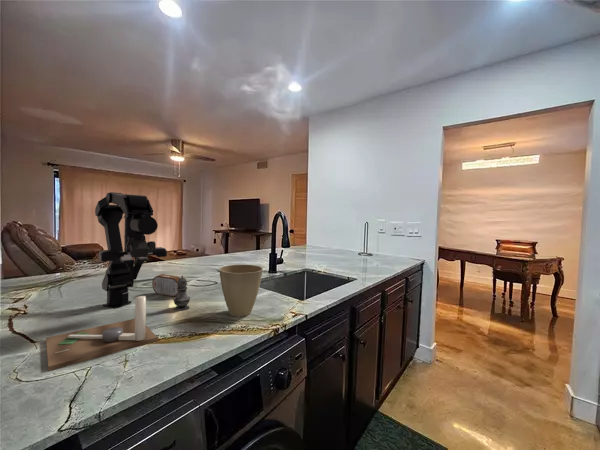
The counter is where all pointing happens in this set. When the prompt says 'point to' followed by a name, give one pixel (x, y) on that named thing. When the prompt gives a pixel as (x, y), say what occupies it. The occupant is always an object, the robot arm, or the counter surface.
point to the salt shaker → (181, 296)
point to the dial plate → (90, 345)
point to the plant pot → (240, 287)
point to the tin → (166, 285)
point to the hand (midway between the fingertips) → (134, 279)
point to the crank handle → (117, 332)
